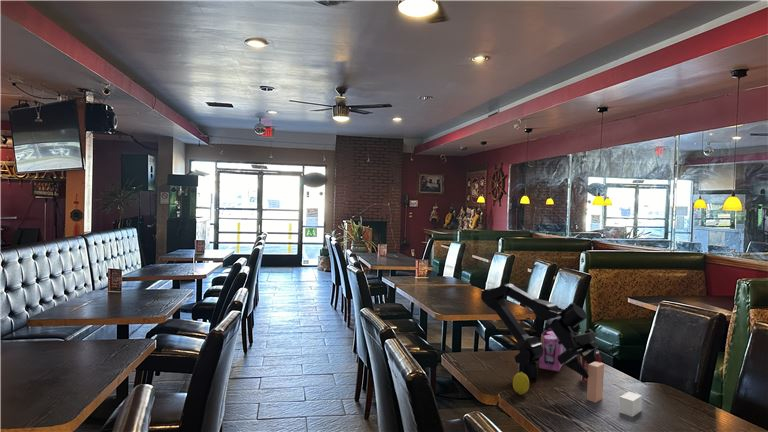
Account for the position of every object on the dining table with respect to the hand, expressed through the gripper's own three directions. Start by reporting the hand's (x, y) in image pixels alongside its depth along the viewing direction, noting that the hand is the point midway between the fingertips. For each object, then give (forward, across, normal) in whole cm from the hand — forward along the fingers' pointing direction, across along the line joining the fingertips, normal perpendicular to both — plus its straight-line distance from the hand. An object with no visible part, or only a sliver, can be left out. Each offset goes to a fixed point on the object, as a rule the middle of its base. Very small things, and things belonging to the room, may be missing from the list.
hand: (594, 374), depth 160 cm
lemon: (-6, -16, +19) cm, 26 cm away
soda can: (+1, +15, +12) cm, 20 cm away
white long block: (+10, 0, +2) cm, 10 cm away
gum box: (-14, +26, +27) cm, 40 cm away
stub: (+6, 0, +5) cm, 8 cm away
